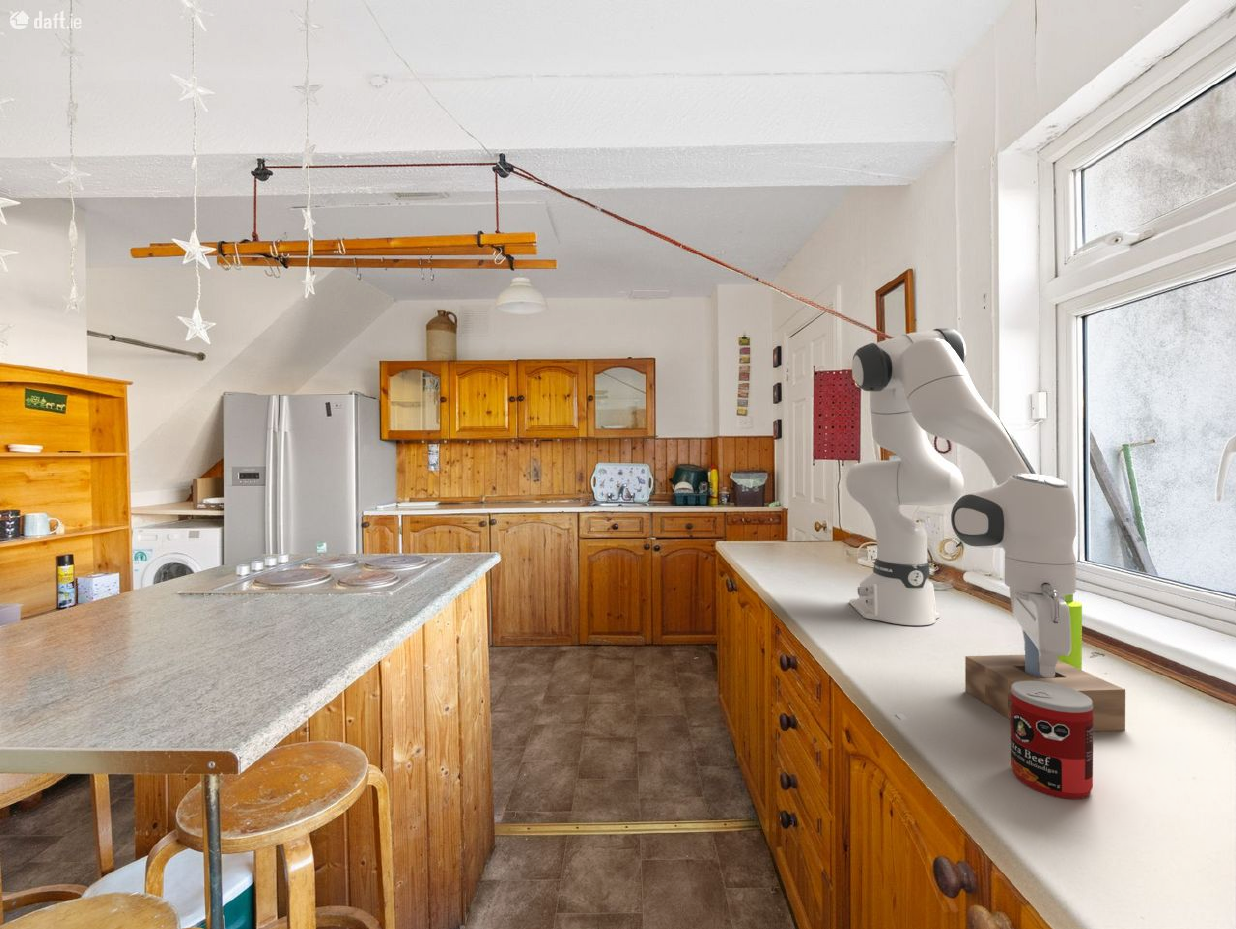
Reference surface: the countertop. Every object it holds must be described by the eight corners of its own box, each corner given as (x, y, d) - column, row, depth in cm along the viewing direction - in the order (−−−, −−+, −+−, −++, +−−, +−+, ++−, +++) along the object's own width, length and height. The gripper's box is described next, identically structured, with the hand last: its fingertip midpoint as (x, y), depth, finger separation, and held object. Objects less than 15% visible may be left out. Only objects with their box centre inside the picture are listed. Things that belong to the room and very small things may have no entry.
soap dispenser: (1069, 666, 102) (1070, 561, 101) (1088, 680, 95) (1088, 568, 95) (1032, 662, 104) (1033, 559, 103) (1048, 676, 97) (1048, 566, 97)
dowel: (1019, 702, 86) (1019, 634, 86) (1034, 699, 87) (1034, 632, 87) (1043, 712, 83) (1043, 641, 82) (1057, 708, 84) (1057, 638, 84)
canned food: (995, 765, 70) (995, 681, 69) (1052, 761, 70) (1052, 678, 70) (1047, 803, 62) (1047, 708, 62) (1111, 798, 63) (1111, 705, 63)
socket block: (965, 691, 91) (965, 656, 91) (1044, 688, 92) (1044, 654, 92) (1032, 733, 77) (1032, 692, 77) (1124, 730, 78) (1125, 689, 78)
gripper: (1085, 595, 74) (1085, 694, 74) (1047, 567, 92) (1047, 647, 92) (1029, 590, 77) (1028, 686, 77) (1003, 563, 95) (1002, 641, 95)
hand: (1038, 664), depth 85 cm, fingers open, 8 cm apart
